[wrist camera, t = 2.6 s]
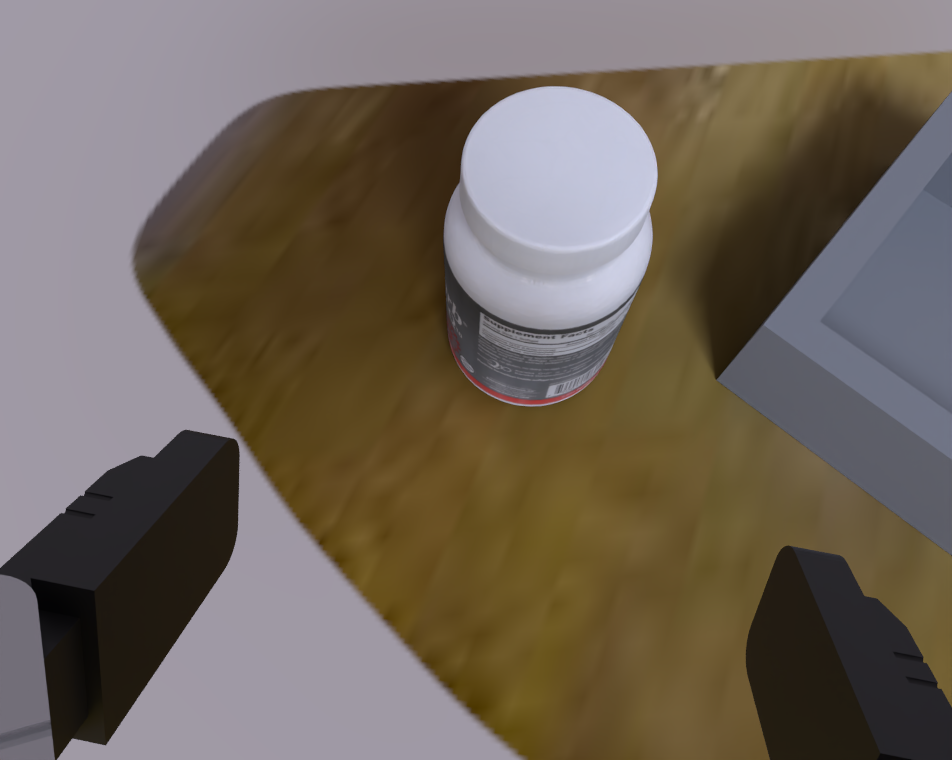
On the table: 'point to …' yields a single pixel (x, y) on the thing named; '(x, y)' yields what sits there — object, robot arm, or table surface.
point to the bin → (873, 341)
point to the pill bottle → (546, 242)
